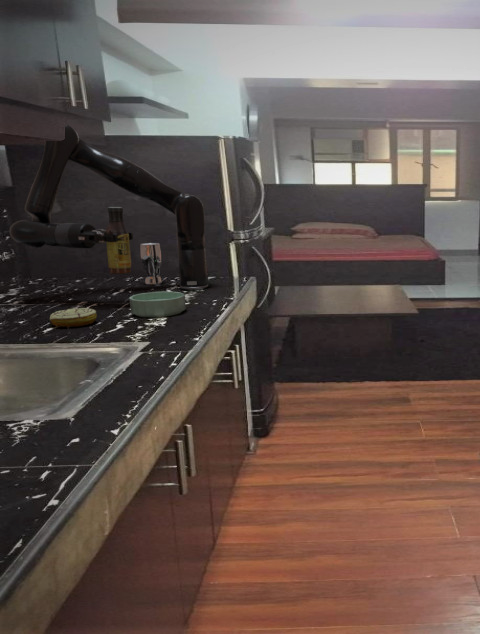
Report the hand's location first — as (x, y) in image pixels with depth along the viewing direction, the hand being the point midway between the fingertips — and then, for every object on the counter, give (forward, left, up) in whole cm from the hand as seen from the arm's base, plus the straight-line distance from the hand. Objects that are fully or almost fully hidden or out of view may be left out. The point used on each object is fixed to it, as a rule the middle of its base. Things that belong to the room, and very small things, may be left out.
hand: (124, 237), depth 180 cm
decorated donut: (+24, +1, -21) cm, 32 cm away
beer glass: (-39, -19, -21) cm, 49 cm away
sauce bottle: (0, -2, -11) cm, 11 cm away
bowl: (+6, +14, -21) cm, 26 cm away
